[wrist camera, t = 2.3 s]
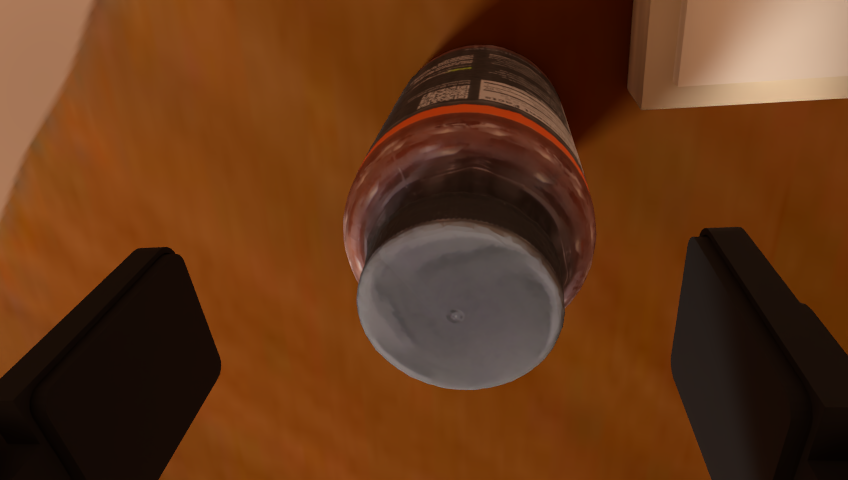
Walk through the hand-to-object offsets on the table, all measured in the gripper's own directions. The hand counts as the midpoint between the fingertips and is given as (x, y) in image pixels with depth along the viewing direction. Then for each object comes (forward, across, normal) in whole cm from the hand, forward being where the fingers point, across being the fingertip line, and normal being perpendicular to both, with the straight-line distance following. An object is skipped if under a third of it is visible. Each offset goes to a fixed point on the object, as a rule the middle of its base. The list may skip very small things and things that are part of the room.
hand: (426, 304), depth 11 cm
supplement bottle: (+12, -1, 0) cm, 12 cm away
